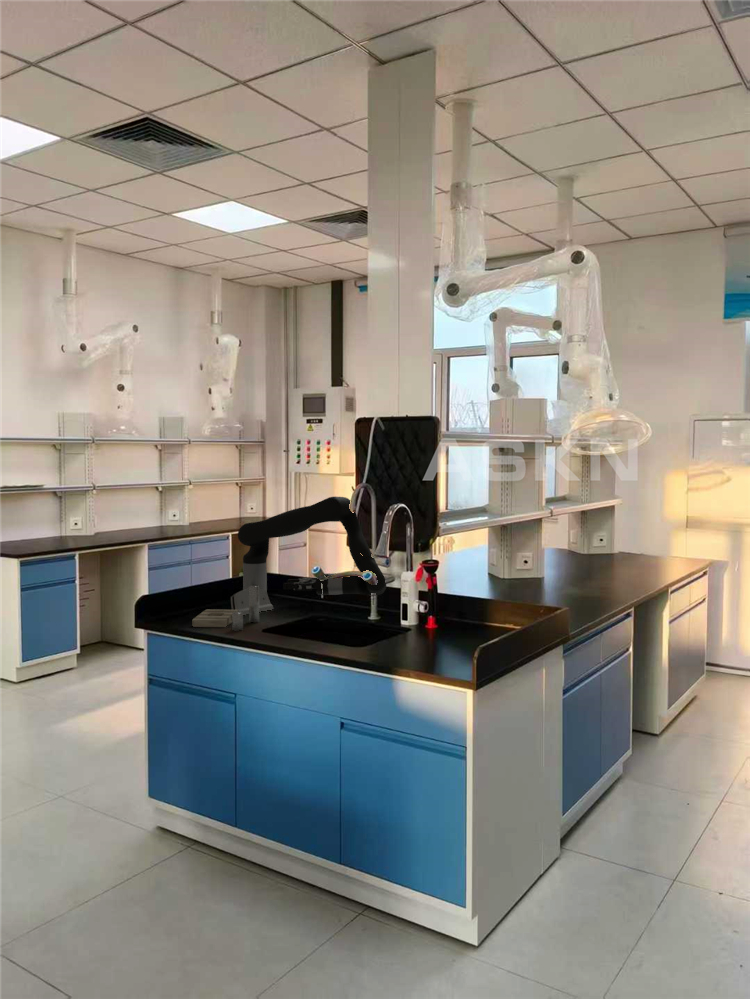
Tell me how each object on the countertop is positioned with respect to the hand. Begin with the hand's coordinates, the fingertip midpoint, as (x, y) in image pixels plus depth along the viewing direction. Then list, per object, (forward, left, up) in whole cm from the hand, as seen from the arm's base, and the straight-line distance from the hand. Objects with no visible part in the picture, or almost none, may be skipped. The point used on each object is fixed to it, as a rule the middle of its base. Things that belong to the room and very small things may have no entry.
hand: (285, 584), depth 281 cm
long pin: (0, -11, -14) cm, 18 cm away
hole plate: (0, -25, -14) cm, 29 cm away
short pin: (+13, -14, -14) cm, 24 cm away
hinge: (-18, -16, -14) cm, 28 cm away
